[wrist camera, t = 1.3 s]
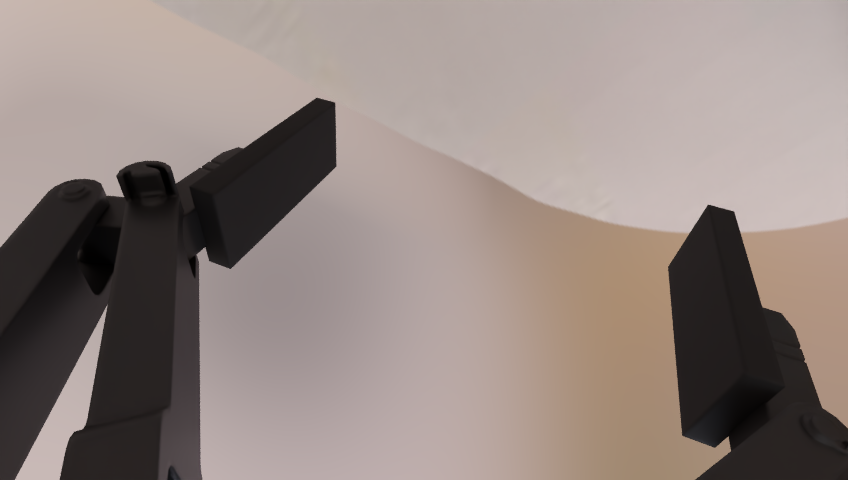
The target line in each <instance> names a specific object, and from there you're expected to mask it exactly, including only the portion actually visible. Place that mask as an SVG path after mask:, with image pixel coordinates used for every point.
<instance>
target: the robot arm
mask: <svg viewBox="0 0 848 480" xmlns="http://www.w3.org/2000/svg"><path fill="white" fill-rule="evenodd" d="M335 122H336V121H335V103H334V102H331V101H327V100H323V99H320V98H316V99H314V100H313V101H312V102H310V103H309V104H307V105H306V106H304V107H303V108H301V109H300V110H299V111H297V112H296V113H294V114H293V115H291V116H290V117H288V118H287V119H286V120H284V121H283V122H281V123H280V124H278V125H277V126H275V127H274V128H273V129H271V130H270V131H268V132H267V133H265V134H264V135H262V136H261V137H260V138H258V139H257V140H255V141H254V142H252V143H251V144H250V145H248V146H247V147H245V148H244V149H242V148H239V147H238V148H235V149H232V150H229V151H226V152H223V153H221V154H220V155H218V156H217V157H215V158H214V159H212V160H211V162H208V163H206V164H205V165H204V166H202V168H199V169H198V170H196V171H195V172H193V173H191V174H190V175H188V176H187V177H185V178H184V179H182V180H181V181H180V182H178V183H175V180H174V177H173V173H172V170H171V167H170V166H169V165H167V164H166V163H163V162H159V161H143V162H137V163H134V164H131V165H128V166H126V167H125V168H123V169H122V170H120V171H119V173H118V174H117V179H118V182H119V184H120V187H121V190H122V192H123V195H124V197H116V196H106V194H105V191H104V189H103V187H102V185H101V183H99V182H97V181H95V180H89V179H78V180H77V179H75V180H71V181H67V182H64V183H62V184H60V185H57V186H55V187H54V188H53V189H51V190H50V191H49V192H48V193H47V194H46V195H45V196H44V197H43V199H42V200H41V201H40V202H39V203H38V204H37V206H36V207H35V208H34V209H33V211H31V213H30V214H29V215H28V216H27V217H26V218H25V220H24V221H23V222H22V223H21V224H20V225H19V227H18V228H17V229H16V230H15V231H14V232H13V233H12V235H11V236H10V237H9V238H8V239H7V241H6V242H5V243H4V244H3V245H2V246H1V247H0V480H15V478H16V476H17V474H18V473H19V471H20V469H21V467H22V465H23V463H24V461H25V459H26V457H27V456H28V454H29V452H30V450H31V448H32V446H33V444H34V442H35V440H36V439H37V437H38V435H39V433H40V431H41V429H42V427H43V425H44V423H45V421H46V420H47V418H48V416H49V414H50V412H51V410H52V408H53V406H54V405H55V403H56V401H57V399H58V397H59V395H60V393H61V391H62V389H63V387H64V385H65V384H66V382H67V380H68V378H69V376H70V374H71V372H72V370H73V368H74V367H75V365H76V363H77V361H78V359H79V357H80V355H81V353H82V352H83V350H84V348H85V346H86V344H87V342H88V340H89V338H90V336H91V334H92V333H93V331H94V329H95V327H96V325H97V323H98V321H99V319H100V318H101V316H102V314H103V312H104V310H105V308H106V306H107V304H108V307H107V312H106V318H105V324H104V329H103V334H102V340H101V346H100V352H99V357H98V362H97V368H96V374H95V379H94V385H93V391H92V397H91V402H90V407H89V413H88V419H87V423H86V426H85V427H84V429H82V430H79V431H76V432H74V433H73V434H72V436H71V437H70V439H69V441H68V445H67V448H66V452H65V456H64V461H63V466H62V471H61V476H60V480H202V475H201V465H200V361H199V360H200V350H199V261H198V258H197V255H196V254H197V253H199V252H200V251H201V250H202V249H203V248H204V247H206V251H207V254H208V258H209V261H211V262H213V263H216V264H219V265H221V266H224V267H227V268H230V269H231V268H232V267H233V266H234V265H235V264H236V263H237V262H238V261H239V260H240V259H241V258H242V257H243V256H245V254H247V253H248V252H249V251H250V250H251V249H252V248H253V247H254V246H255V245H256V244H257V243H258V242H259V241H260V240H261V239H262V238H263V237H264V236H265V235H266V234H267V233H268V232H269V231H270V230H271V229H272V228H273V227H274V226H275V225H276V224H278V223H279V221H281V220H282V219H283V218H284V217H285V216H286V215H287V214H288V213H289V212H290V211H291V210H292V209H293V208H294V207H295V206H296V205H297V204H298V203H299V202H300V201H301V200H302V199H303V198H304V197H305V196H306V195H307V194H308V193H309V192H311V191H312V189H314V188H315V187H316V186H317V185H318V184H319V183H320V182H321V181H322V180H323V179H324V178H325V177H326V176H327V175H328V174H329V173H330V172H331V171H332V170H333V169H334V168H335V167H336V123H335ZM668 271H669V283H670V294H671V306H672V319H673V330H674V343H675V354H676V366H677V378H678V390H679V402H680V413H681V426H682V435H683V436H685V437H687V438H690V439H693V440H695V441H698V442H701V443H703V444H707V445H709V446H712V447H716V446H717V445H719V444H720V443H721V442H722V441H723V440H724V439H726V438H727V437H728V436H729V441H730V447H731V452H730V453H728V454H727V455H726V456H725V457H723V458H722V459H721V460H720V461H718V462H717V463H716V464H715V465H713V466H712V467H711V468H709V469H708V470H707V471H706V472H705V473H703V474H702V475H701V476H700V477H698V478H697V479H696V480H848V428H847V427H846V426H844V425H843V424H842V423H841V422H840V421H839V420H838V419H837V418H836V417H835V416H833V415H832V414H830V413H829V412H827V411H826V410H824V409H823V408H822V406H821V404H820V401H819V398H818V395H817V393H816V389H815V387H814V384H813V381H812V378H811V375H810V372H809V370H808V367H807V364H806V363H805V362H804V360H805V358H804V355H803V353H802V350H801V349H800V344H799V341H798V338H797V335H796V332H795V330H794V329H793V327H792V326H791V325H790V324H789V322H788V321H787V320H786V319H785V317H784V316H783V315H782V314H781V313H779V312H776V311H772V310H769V309H766V308H763V307H762V305H761V302H760V298H759V295H758V291H757V288H756V285H755V281H754V278H753V274H752V271H751V267H750V264H749V261H748V257H747V254H746V251H745V247H744V244H743V240H742V237H741V233H740V230H739V227H738V223H737V220H736V216H735V213H734V212H733V211H730V210H726V209H723V208H719V207H715V206H712V205H708V206H707V207H706V209H705V210H704V212H703V214H702V215H701V217H700V218H699V220H698V221H697V223H696V224H695V226H694V228H693V229H692V231H691V232H690V234H689V235H688V237H687V238H686V240H685V242H684V243H683V245H682V246H681V248H680V249H679V251H678V252H677V254H676V256H675V257H674V259H673V260H672V262H671V263H670V265H669V266H668Z"/></svg>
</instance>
